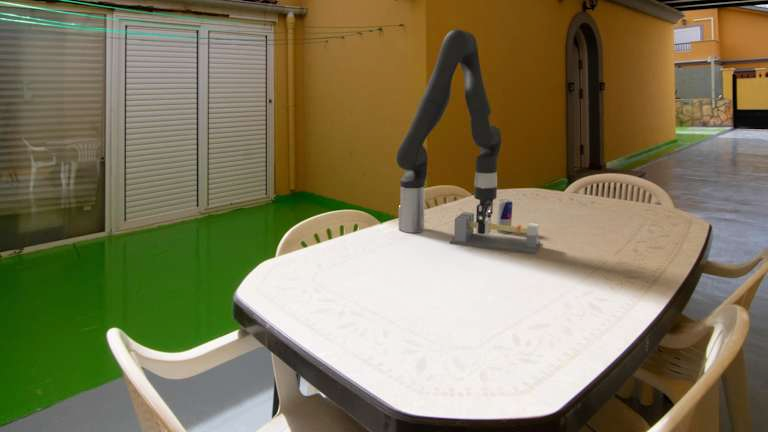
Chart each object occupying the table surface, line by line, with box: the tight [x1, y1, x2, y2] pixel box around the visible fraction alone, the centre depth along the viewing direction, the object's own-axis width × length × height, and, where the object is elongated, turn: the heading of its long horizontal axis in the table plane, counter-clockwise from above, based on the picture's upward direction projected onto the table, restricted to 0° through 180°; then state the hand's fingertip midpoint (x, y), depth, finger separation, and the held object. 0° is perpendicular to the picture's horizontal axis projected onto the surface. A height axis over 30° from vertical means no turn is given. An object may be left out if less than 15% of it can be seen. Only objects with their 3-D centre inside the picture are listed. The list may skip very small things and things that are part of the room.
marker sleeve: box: [475, 217, 492, 235], centre depth 160 cm, size 4×5×5 cm
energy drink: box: [496, 198, 513, 234], centre depth 173 cm, size 5×5×12 cm
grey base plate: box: [449, 232, 541, 255], centre depth 160 cm, size 29×12×1 cm, turn 65°
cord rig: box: [453, 211, 540, 248], centre depth 159 cm, size 27×11×8 cm, turn 65°
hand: (484, 230), depth 161 cm, fingers open, 8 cm apart
